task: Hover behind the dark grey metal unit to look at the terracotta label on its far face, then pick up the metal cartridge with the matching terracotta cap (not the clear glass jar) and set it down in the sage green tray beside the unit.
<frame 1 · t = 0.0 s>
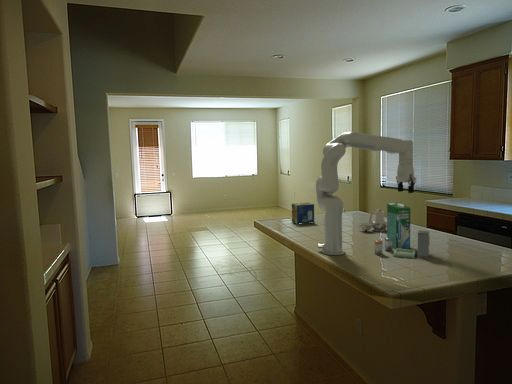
hand: (405, 192, 217), 31 cm above the worktop, tool pointing down, fingers open, 9 cm apart
protein box: (303, 223, 304), on the worktop
tray: (404, 254, 201), on the worktop
clear glass jar: (388, 250, 211), on the worktop
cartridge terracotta: (378, 253, 205), on the worktop
milk carton: (398, 246, 219), on the worktop
unit: (423, 255, 197), on the worktop
chinaware: (379, 231, 264), on the worktop
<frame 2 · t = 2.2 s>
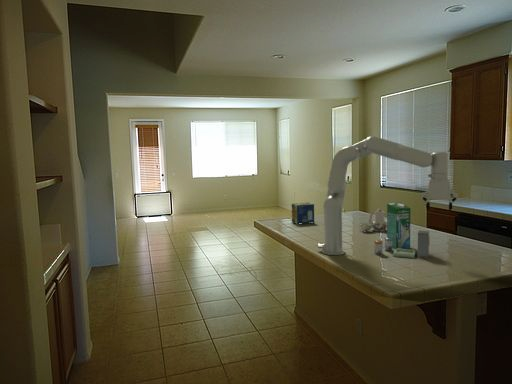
hand: (439, 210, 192), 24 cm above the worktop, tool pointing down, fingers open, 9 cm apart
nothing on the worktop moved.
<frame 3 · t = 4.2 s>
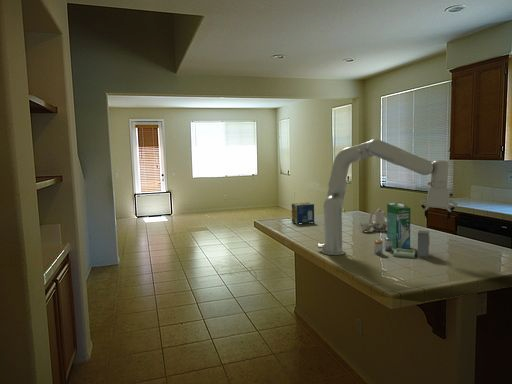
hand: (437, 218, 193), 20 cm above the worktop, tool pointing down, fingers open, 9 cm apart
nothing on the worktop moved.
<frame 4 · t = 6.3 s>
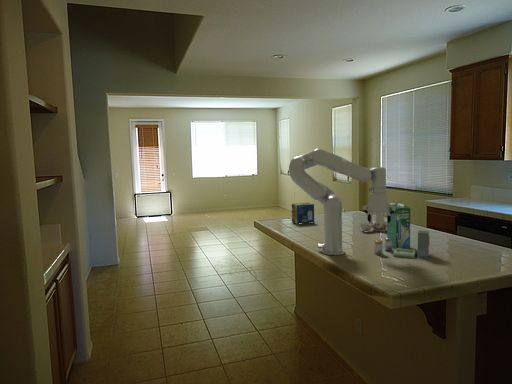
hand: (379, 222, 203), 17 cm above the worktop, tool pointing down, fingers open, 9 cm apart
nothing on the worktop moved.
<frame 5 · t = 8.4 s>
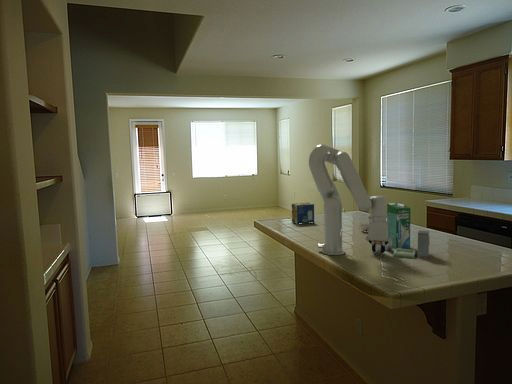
hand: (378, 252, 205), 1 cm above the worktop, tool pointing down, fingers closed on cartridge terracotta, 4 cm apart
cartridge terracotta: (378, 253, 205), on the worktop, touching gripper
everything else where it was.
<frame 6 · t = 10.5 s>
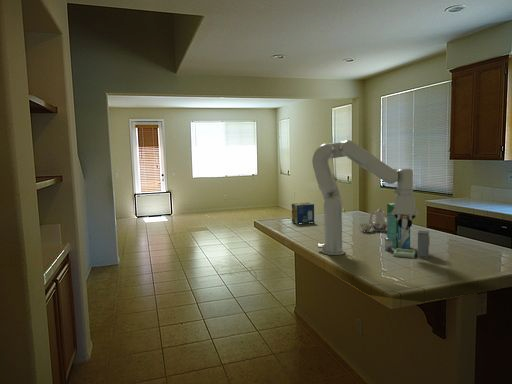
hand: (404, 226, 199), 15 cm above the worktop, tool pointing down, fingers closed on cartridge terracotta, 4 cm apart
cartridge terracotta: (404, 228, 199), point 14 cm above the worktop, touching gripper
when the fingers open (3 cm above the worktop, at t = 12.9 s): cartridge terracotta drops 2 cm, resting on tray.
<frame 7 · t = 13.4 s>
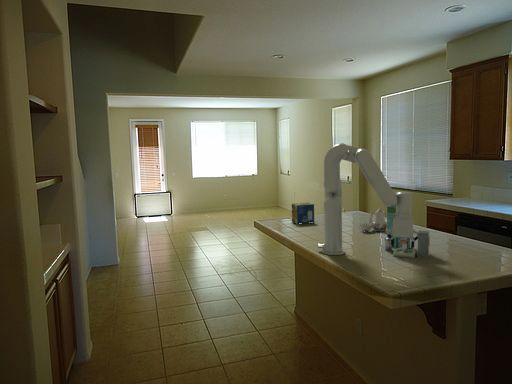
hand: (402, 247, 201), 4 cm above the worktop, tool pointing down, fingers open, 9 cm apart
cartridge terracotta: (404, 253, 201), point 1 cm above the worktop, touching tray
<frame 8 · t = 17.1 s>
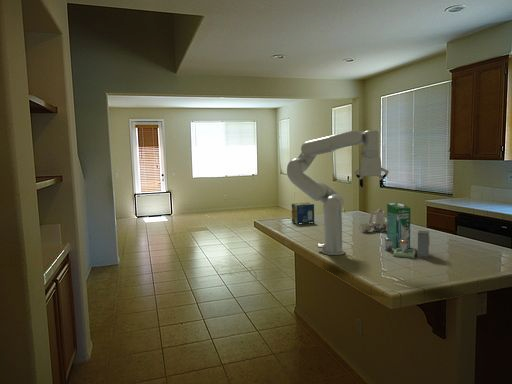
hand: (371, 187, 199), 36 cm above the worktop, tool pointing down, fingers open, 9 cm apart
at the end: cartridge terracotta inside the target area on the tray (0.1 cm from its centre), point 0.8 cm above the tray's base; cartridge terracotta tilted 0°; clear glass jar moved 0.0 cm from its start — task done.
